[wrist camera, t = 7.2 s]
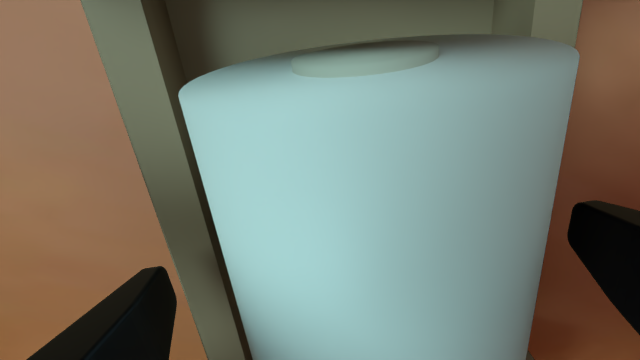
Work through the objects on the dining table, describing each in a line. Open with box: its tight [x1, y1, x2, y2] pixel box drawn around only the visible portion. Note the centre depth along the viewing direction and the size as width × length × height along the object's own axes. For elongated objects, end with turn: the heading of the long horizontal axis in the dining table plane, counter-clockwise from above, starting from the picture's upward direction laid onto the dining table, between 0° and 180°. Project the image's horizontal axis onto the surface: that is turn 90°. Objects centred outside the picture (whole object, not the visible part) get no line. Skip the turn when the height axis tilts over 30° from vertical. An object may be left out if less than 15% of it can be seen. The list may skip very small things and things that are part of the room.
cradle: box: [81, 0, 583, 360], centre depth 9 cm, size 17×11×5 cm, turn 6°
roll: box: [178, 34, 580, 360], centre depth 8 cm, size 8×6×6 cm
